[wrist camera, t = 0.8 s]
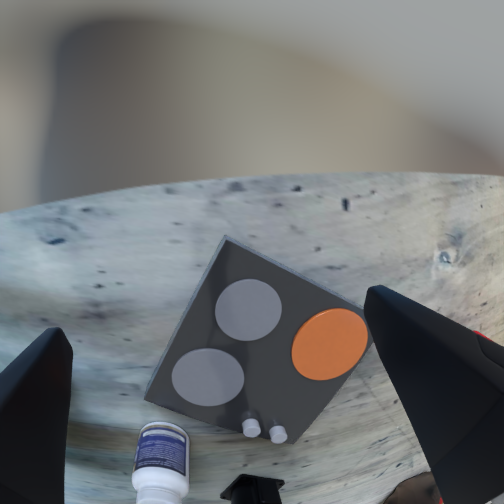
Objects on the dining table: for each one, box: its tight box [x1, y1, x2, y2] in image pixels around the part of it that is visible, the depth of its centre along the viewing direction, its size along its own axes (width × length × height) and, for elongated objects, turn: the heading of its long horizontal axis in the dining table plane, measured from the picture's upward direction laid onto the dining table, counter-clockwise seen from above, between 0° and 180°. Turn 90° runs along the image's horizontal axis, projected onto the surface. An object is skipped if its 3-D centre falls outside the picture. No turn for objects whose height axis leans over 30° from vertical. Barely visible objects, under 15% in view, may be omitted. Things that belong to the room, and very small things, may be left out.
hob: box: [144, 235, 374, 444], centre depth 25 cm, size 16×16×3 cm
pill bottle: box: [132, 422, 190, 504], centre depth 22 cm, size 5×5×10 cm
